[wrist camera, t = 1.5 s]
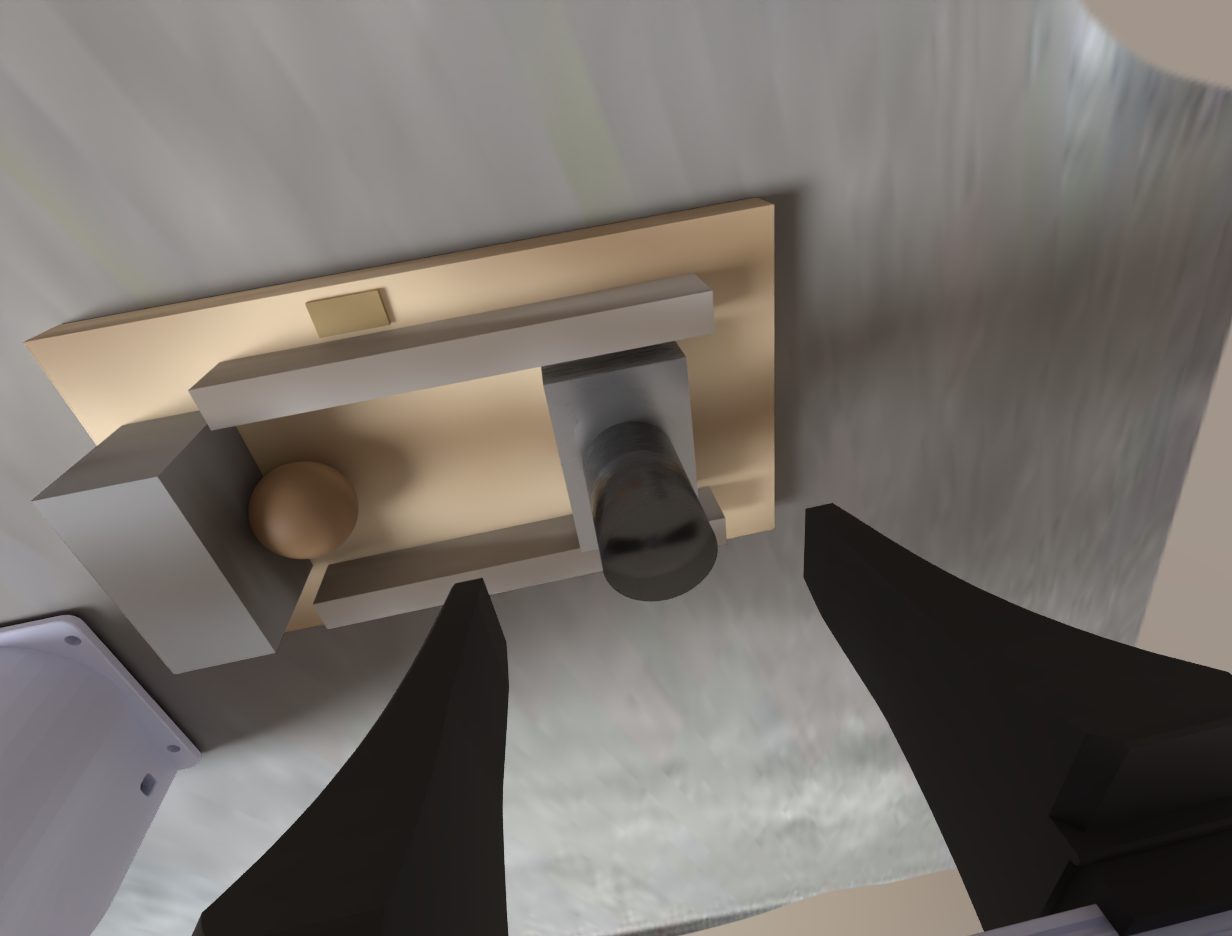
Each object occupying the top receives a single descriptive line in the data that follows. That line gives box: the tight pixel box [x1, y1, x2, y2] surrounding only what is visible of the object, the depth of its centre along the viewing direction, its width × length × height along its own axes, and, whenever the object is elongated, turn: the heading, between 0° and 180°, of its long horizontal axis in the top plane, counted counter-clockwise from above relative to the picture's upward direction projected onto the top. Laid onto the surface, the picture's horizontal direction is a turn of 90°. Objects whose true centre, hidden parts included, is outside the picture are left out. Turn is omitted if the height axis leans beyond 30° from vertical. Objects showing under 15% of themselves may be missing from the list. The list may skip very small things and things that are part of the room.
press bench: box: [23, 197, 774, 675], centre depth 19 cm, size 12×21×6 cm, turn 98°
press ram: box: [541, 341, 718, 601], centre depth 17 cm, size 6×4×7 cm, turn 8°
